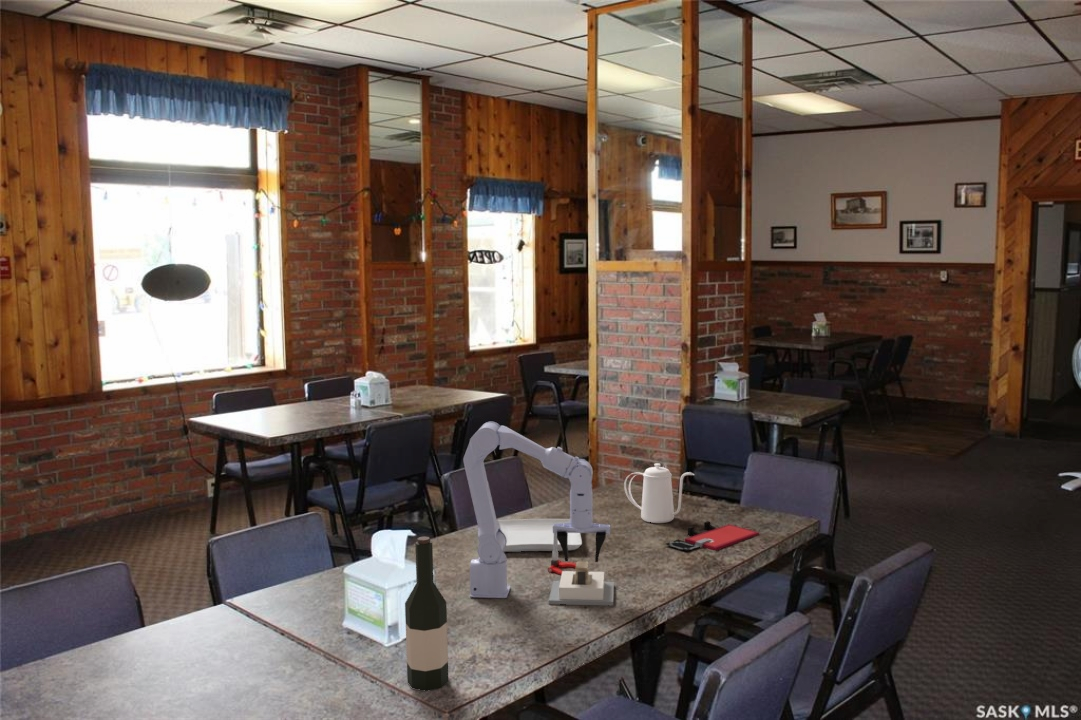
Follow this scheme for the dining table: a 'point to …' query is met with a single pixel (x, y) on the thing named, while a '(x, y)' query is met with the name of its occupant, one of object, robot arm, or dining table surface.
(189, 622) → the dining table surface
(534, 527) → the square plate
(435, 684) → the wine bottle
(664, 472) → the coffeepot
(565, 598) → the slotted block
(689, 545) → the red board with handle
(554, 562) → the tow hook
